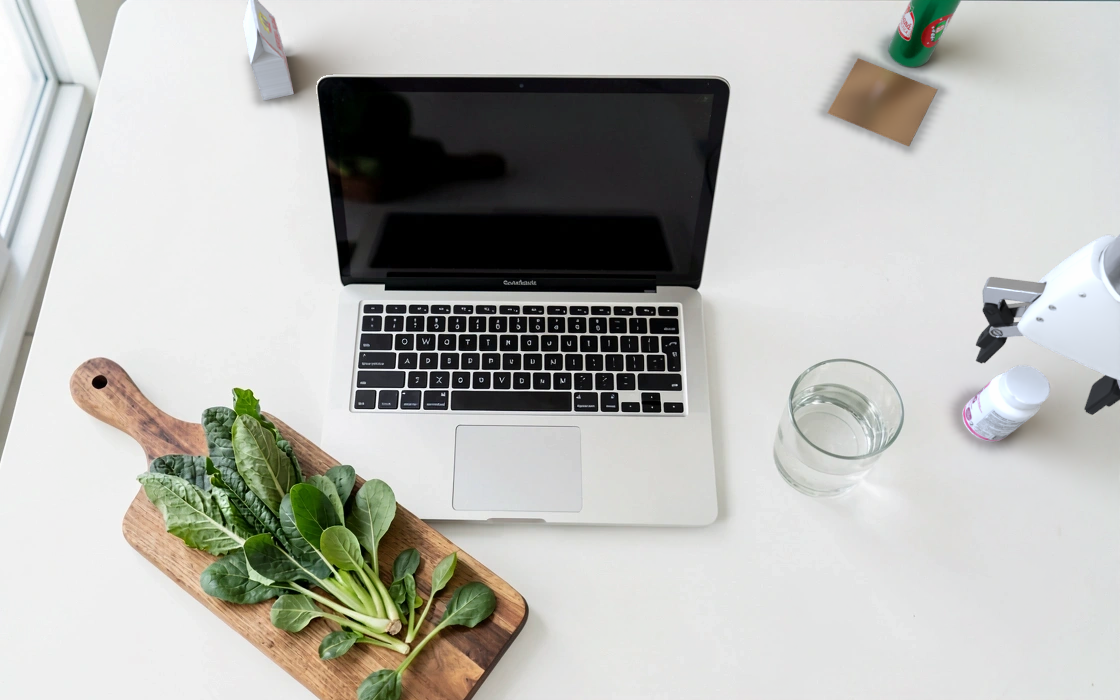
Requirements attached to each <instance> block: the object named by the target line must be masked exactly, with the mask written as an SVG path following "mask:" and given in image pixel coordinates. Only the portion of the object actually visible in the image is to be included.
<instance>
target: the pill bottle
mask: <svg viewBox="0 0 1120 700" xmlns="http://www.w3.org/2000/svg"><path fill="white" fill-rule="evenodd" d="M1050 393H1051V385H1050V381H1049V380H1048V378H1047V376H1046V375H1045V374H1044V373H1043V372H1042V371H1040V370H1039V369H1038V368H1036V367H1033V366H1032V365H1027V364H1019V365H1015V366H1013V367H1010V368H1009V369H1008V370H1007V371H1006V372H1002V373H1000V374H998V375H995V377H994V378H992V379H991V380H990V381H989V382H988V383H987V384H985V385H984V387H982V388H981V389H980V390H979V391H978V392H977V393H976V394H975V395H974V396H972V398H971V399H969V400H968V402H966V404H965V405H964V407H963V409H962V413H961V414H962V421H963V423H964V426H965V427H966V429H967V430H968V431H969V432H970V433H971V434H972V435H973V436H974V437H976V438H977V439H980V440H982V441H986V442H998V441H1002V440H1004V439H1006V438H1007V437H1008V436H1009V435H1011V434H1012V433H1013V432H1015V431H1016V430H1017V429H1019V428H1020V427H1021V426H1022V425H1023V424H1025V423H1027V421H1028V420H1030V419H1031V418H1032V417H1034V416H1035V415H1036V414H1037V413H1038V412H1039V410H1040V408H1041V406H1042V404H1043V403H1044V402H1045V401H1046V400H1047V399H1048V398H1049V396H1050Z"/></svg>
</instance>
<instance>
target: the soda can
mask: <svg viewBox="0 0 1120 700" xmlns="http://www.w3.org/2000/svg"><path fill="white" fill-rule="evenodd" d="M961 2H962V0H909V2H908V4H907V6H906V8H905V10H904V12H903V14H902V17H901V19H900V20H899V22H898V25H897V28H896V29H895V30H894V34H893V35H892V38H891V40H890V41H889V45H888V48H887V50H888V53H889V56H890V58H891V59H892V60H893V61H894V62H895V63H896V64H898V65H900V66H902V67H907V68H917V67H921V66H923V65H926V64H927V63H928V62H929V60H930V59H931V58H932V55H933V53H934V52H935V49H936V48H937V46H938V44H939V42H940V40H941V39H942V37H943V36H944V33H945V31H946V29H947V28H948V26H949V24H950V23H951V20H952V18H953V17H954V15H955V13H956V11H957V9H958V7H959V6H960V4H961Z"/></svg>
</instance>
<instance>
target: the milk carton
mask: <svg viewBox="0 0 1120 700" xmlns="http://www.w3.org/2000/svg"><path fill="white" fill-rule="evenodd" d="M242 26H243V31H244V36H245V42H246V47H247V52H248V57H249V63H250V67H251V70H252V73H253V75H254V78H255V81H256V85H257V87H258V89H259V92H260V96H261V98H262V101H268V100H272V99H278V98H282V97H283V98H284V97H288V96H292V95H294V94H295V92H294V87H293V84H292V83H293V82H292V78H291V73H290V69H289V65H288V59H287V54H286V51H285V48H284V44H283V41H282V38H281V34H280V31H279V28H278V25H277V21H276V18H275V16H274V15H273V14H272V13H271V12H270V11H269V10H268V9H267V8H266V7H265V6H264V5H263V4H262V3H261V2H260V1H259V0H247V6H246V10H245V13H244V18H243V21H242Z"/></svg>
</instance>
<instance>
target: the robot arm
mask: <svg viewBox="0 0 1120 700" xmlns="http://www.w3.org/2000/svg"><path fill="white" fill-rule="evenodd" d="M1007 301H1014V302H1015V303H1007ZM1016 302H1017V303H1016ZM982 303H983V306H982V313H983V315H984V318H985V319H986V321H987V323H988V325H987V326H986V327H985V328H984V329H983V331H981V333H980V334H979V336H978V338H977V340H976V343H975V346H976V347H977V348H980V349H979V352H978V354H977V356H976V359H975V361H976V362H977V363H979V364H986V363H987V362H988V361H989V360H990V359H991V358H993V356H994V355H995V354H996V353H997V352H999V351H1000V350H1001V348H1002V347H1004V345H1005V344H1006V342H1007V339H1008V338H1013V337H1024V338H1026V339H1027V340H1029V341H1031V342H1033V343H1034V344H1037V345H1038V346H1040V347H1042V348H1044V349H1046V350H1049V351H1051V352H1053V353H1056V354H1057V355H1060V356H1062V357H1063V358H1066V359H1068V360H1070V361H1072V362H1075V363H1077V364H1079V365H1082V366H1084V367H1086V368H1088V369H1091V370H1093V371H1095V372H1098V373H1100V374H1102V375H1103V376H1102V377H1101V378H1099V379H1098V380H1097V381H1095V382H1094V383H1092V386H1091V388H1090V390H1089V394H1088V397H1087V399H1086V402H1085V405H1084V411H1085V413H1086V414H1089V415H1091V416H1093V415H1094V414H1096V413H1098V412H1099V411H1100V410H1102V409H1104V407H1108V408H1109V407H1112V406H1113V405H1115V404H1116V403H1118V402H1119V401H1120V233H1119V234H1118V235H1117V236H1115V235H1113V234H1112V235H1111V234H1104V235H1102V236H1100V237H1098V238H1096V239H1094V240H1092V241H1091V242H1089V243H1087V244H1085V245H1084V246H1082V247H1081V248H1079V249H1077V250H1076V251H1074V252H1073V253H1072V254H1070V255H1069V256H1067V257H1066V258H1065V259H1063V260H1062V261H1061V262H1060V263H1058V264H1057V265H1056V266H1055V267H1053V268H1052V269H1051V270H1050V271H1048V272H1047V273H1046V274H1045V275H1044V276H1042V278H1041V279H1040V280H1038V281H1029V280H1022V279H1013V278H1005V277H1004V278H1003V277H997V276H990V277H988V278H986V281H985V283H984V286H983V288H982ZM1016 318H1017V319H1018V318H1020V320H1019V321H1015V319H1016Z"/></svg>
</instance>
